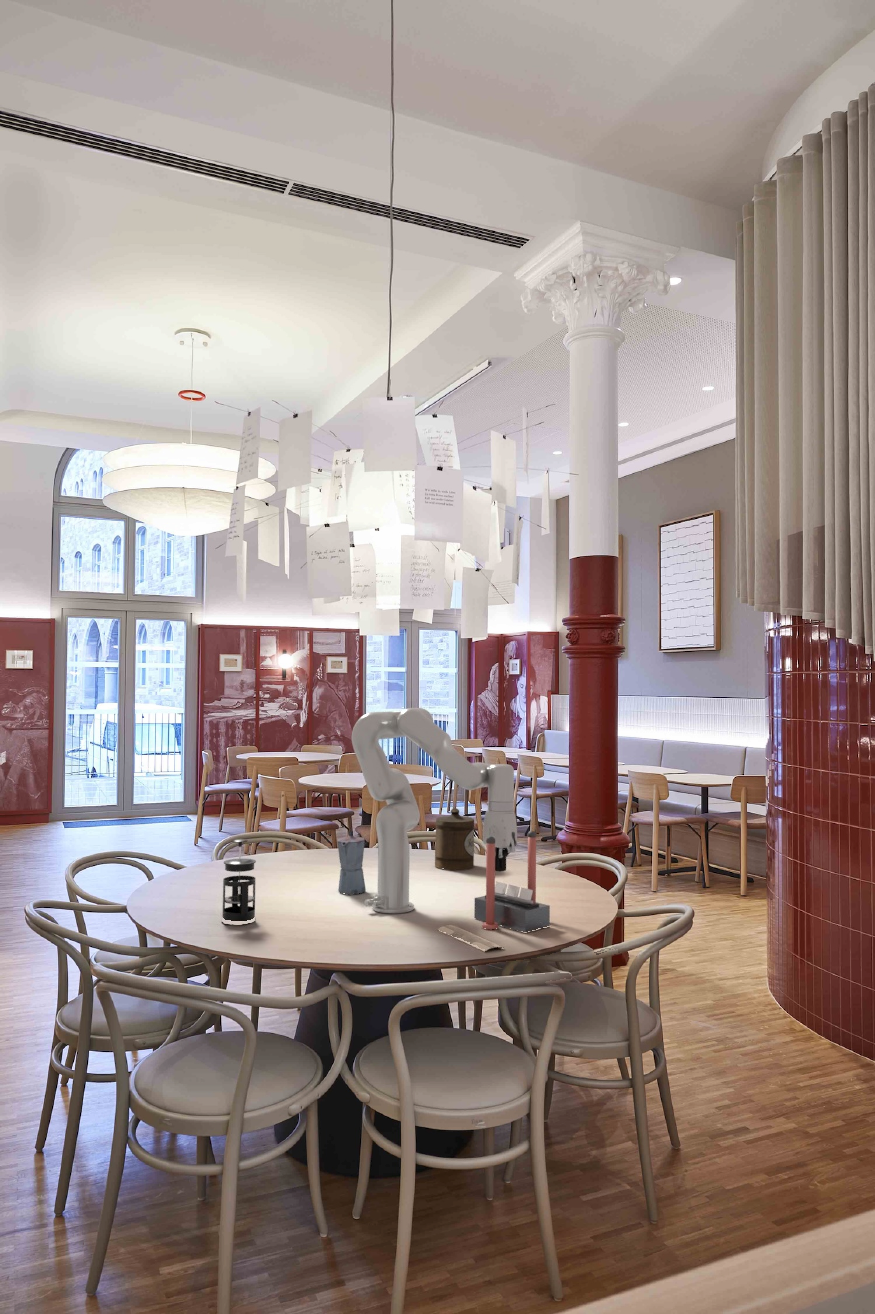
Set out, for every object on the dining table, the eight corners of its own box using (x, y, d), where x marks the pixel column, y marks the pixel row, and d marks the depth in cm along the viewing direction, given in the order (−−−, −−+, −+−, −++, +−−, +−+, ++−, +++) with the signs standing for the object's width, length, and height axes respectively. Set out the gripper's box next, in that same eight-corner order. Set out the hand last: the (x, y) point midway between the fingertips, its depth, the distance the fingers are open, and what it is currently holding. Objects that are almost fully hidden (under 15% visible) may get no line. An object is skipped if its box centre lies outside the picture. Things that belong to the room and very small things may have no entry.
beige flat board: (504, 952, 218) (504, 945, 218) (481, 956, 214) (481, 949, 214) (456, 930, 238) (456, 923, 238) (434, 933, 234) (434, 927, 235)
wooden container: (477, 870, 319) (477, 810, 320) (437, 870, 317) (438, 811, 318) (470, 862, 334) (470, 805, 335) (432, 863, 332) (433, 806, 333)
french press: (217, 918, 245) (219, 837, 246) (249, 915, 250) (251, 835, 251) (227, 928, 235) (229, 844, 236) (261, 924, 239) (262, 841, 240)
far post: (532, 920, 246) (532, 832, 247) (520, 917, 250) (521, 830, 251) (542, 918, 249) (542, 830, 250) (531, 915, 252) (531, 829, 254)
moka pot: (329, 895, 275) (330, 833, 276) (346, 885, 290) (346, 826, 291) (357, 897, 273) (358, 834, 274) (372, 887, 288) (373, 827, 289)
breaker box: (525, 933, 233) (525, 908, 233) (474, 918, 248) (474, 895, 248) (549, 927, 240) (549, 903, 240) (498, 913, 255) (498, 890, 255)
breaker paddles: (530, 903, 238) (533, 890, 239) (489, 893, 250) (492, 880, 251) (533, 904, 238) (536, 891, 239) (492, 894, 250) (496, 881, 251)
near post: (490, 931, 235) (490, 838, 236) (479, 927, 238) (479, 836, 240) (501, 928, 238) (501, 836, 239) (490, 925, 241) (490, 834, 242)
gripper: (473, 805, 252) (473, 868, 251) (510, 810, 241) (510, 876, 240) (491, 803, 257) (491, 865, 256) (528, 808, 246) (528, 873, 245)
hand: (500, 870), depth 248 cm, fingers closed
